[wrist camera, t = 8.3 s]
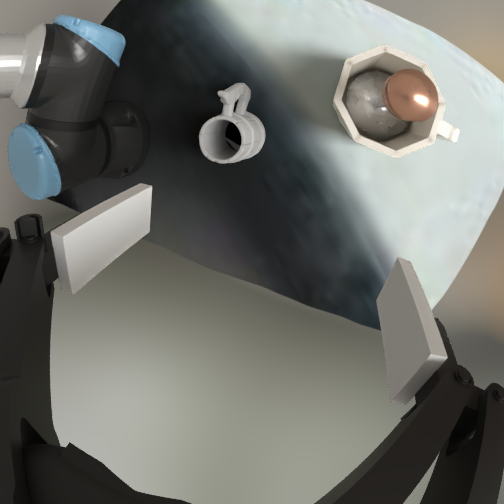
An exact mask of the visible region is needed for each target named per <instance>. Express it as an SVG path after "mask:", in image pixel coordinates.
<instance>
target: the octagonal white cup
mask: <svg viewBox="0 0 504 504" xmlns="http://www.w3.org/2000/svg"><path fill="white" fill-rule="evenodd" d="M402 69H415V70H418V71H420V72H422V73H424V74H425V75H427V76H428V77H429V78H430V79H431V81H432V82H433V83H434V85H435V87H436V89H437V93H438V107H437V109H436V111H435V113H434V114H433V115H432V116H431V117H430V118H429V119H427V120H424V121H409V122H408V124H407V125H406V127H405V128H404V129H403V130H402V131H400V132H399V133H397V134H395V135H392V136H387V137H380V136H374V135H371V134H369V133H367V132H365V131H363V130H362V129H361V128H359V127H358V126H357V125H356V124H355V123H354V121H353V120H352V118H351V117H350V115H349V112H348V109H347V104H346V97H347V92H348V89H349V87H350V85H351V84H352V82H353V81H354V80H355V79H356V78H357V77H359V76H360V75H362V74H365V73H368V72H383V73H387V74H389V75H391V76H392V75H393V74H395V73H396V72H398V71H400V70H402ZM333 107H334V109H335V111H336V114H337V117H338V119H339V121H340V123H341V124H342V126H343V127H344V128H345V130H346V131H347V133H348V135H349V136H350V137H351V138H352V139H353V140H354V141H355V142H358V143H360V144H363V145H365V146H368V147H370V148H373V149H375V150H377V151H380V152H382V153H384V154H387V155H389V156H391V157H393V158H396V159H397V158H399V157H402V156H404V155H407V154H409V153H411V152H414V151H416V150H419V149H421V148H424V147H426V146H429V145H431V144H433V143H434V141H435V138H438V139H442V140H446V141H450V142H453V143H456V141H457V138H458V135H459V131H460V130H459V129H457V128H456V127H454V126H452V125H450V124H449V123H447V122H445V121H443V120H442V117H443V113H444V110H445V107H446V103H445V101H444V98H443V96H442V94H441V92H440V90H439V88H438V85H437V83H436V81H435V79H434V77H433V75H432V73H431V71H430V69H429V68H428V66H427V64H426V63H424V62H422V61H420V60H418V59H416V58H414V57H412V56H410V55H408V54H405V53H403V52H401V51H399V50H396V49H394V48H392V47H389V46H387V45H382V46H379V47H376V48H374V49H371V50H369V51H366V52H363V53H361V54H358V55H356V56H353V57H351V58H349V59H346V60H345V63H344V67H343V70H342V73H341V77H340V80H339V83H338V86H337V88H336V92H335V96H334V100H333Z"/></svg>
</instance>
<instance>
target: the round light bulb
mask: <svg viewBox="0 0 504 504" xmlns="http://www.w3.org/2000/svg"><path fill="white" fill-rule="evenodd" d="M346 104H347V109H348V112H349V115H350V117H351V118H352V120H353V121H354V123H355V124H356V125H357V126H358V127H359V128H361V129H362V130H363V131H365V132H367V133H369V134H371V135H374V136H380V137H387V136H392V135H395V134H397V133H399V132H400V131H402V130H403V129H404V128H405V127H406V125H407V124H408V122H409V121H424V120H427V119H429V118H430V117H431V116H432V115H433V114H434V113H435V111H436V109H437V107H438V93H437V89H436V87H435V85H434V83H433V82H432V81H431V79H430V78H429V77H428V76H427V75H425V74H424V73H422V72H420V71H418V70H415V69H402V70H400V71H398V72H396V73H395V74H393V75H392V76H391V75H389V74H387V73H383V72H368V73H365V74H362V75H360V76H359V77H357V78H356V79H355V80H354V81H353V82H352V84H351V85H350V87H349V89H348V92H347V97H346Z"/></svg>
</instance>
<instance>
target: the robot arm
mask: <svg viewBox="0 0 504 504" xmlns="http://www.w3.org/2000/svg"><path fill="white" fill-rule="evenodd" d="M124 47H125V38H124V37H123V35H121V34H120V33H118V32H116V31H114V30H112V29H110V28H107V27H105V26H102V25H99V24H96V23H93V22H90V21H87V20H81V19H79V18H75V17H72V16H67V15H58V16H57V17H56V19H55V20H53V24H44V23H41V24H39V25H38V26H36V27H35V28H34V29H32V30H31V31H29V32H28V33H26V34H24V33H21V34H20V33H0V98H10V99H12V101H13V102H14V103H15V104H16V106H17V107H18V108H20V109H24V108H28V112H27V117H26V122H25V123H21V124H20V125H18V126H17V127H16V128H14V130H13V131H12V133H11V135H10V137H9V141H8V160H9V164H10V169H11V172H12V175H13V177H14V180H15V182H16V184H17V185H18V187H19V188H20V190H21V191H22V192H23V193H24V194H25V195H26V196H27V197H29V198H31V199H34V200H41V199H44V198H47V197H50V196H56V195H57V194H59V193H61V192H63V191H65V190H68V189H70V188H72V187H74V186H77V185H79V184H81V183H84V182H86V181H89V180H91V179H93V178H96V177H98V178H110V179H117V178H122V177H125V176H127V175H130V174H132V173H133V172H135V171H136V170H137V169H138V168H139V167H140V166H141V165H142V163H143V162H144V160H145V158H146V155H147V152H148V148H149V129H148V125H147V122H146V119H145V117H144V115H143V114H142V112H141V111H140V110H139V109H138V108H137V107H136V106H135V105H133V104H132V103H129V102H126V101H112V102H108V103H105V100H106V97H107V94H108V91H109V88H110V85H111V82H112V80H113V77H114V74H115V72H116V69H117V67H119V65H120V63H119V61H120V58H121V55H122V53H123V50H124ZM104 103H105V104H104ZM151 197H152V186H150V185H146V184H142V183H140V184H138V185H136V186H134V187H132V188H130V189H128V190H126V191H124V192H122V193H120V194H118V195H116V196H114V197H112V198H110V199H108V200H106V201H104V202H102V203H100V204H98V205H97V206H95V207H93V208H91V209H89V210H87V211H85V212H84V213H82V214H79V215H76V216H74V217H73V218H71V219H69V221H66V222H64V223H63V224H60V225H59V226H57V227H55V228H54V229H52V230H50V231H49V232H47V233H46V234H44V229H43V222H42V216H40V215H39V214H27V215H24V216H21V217H19V218H18V219H16V221H15V222H14V223H15V229H16V235H17V240H16V239H11V237H10V231H9V229H7V228H1V227H0V504H191V503H188V502H185V501H182V500H177V499H171V498H165V497H160V496H155V495H150V494H145V493H141V492H137V491H135V490H133V489H132V488H131V487H129V486H128V485H127V484H126V483H124V482H123V481H122V480H121V479H120V478H118V477H117V476H116V475H115V474H114V473H113V472H111V470H109V469H108V468H107V467H106V466H105V465H104V464H103V463H102V462H100V461H98V460H97V459H95V458H93V457H92V456H90V455H88V454H87V453H85V452H84V451H82V450H80V449H79V448H77V447H76V446H74V445H73V444H71V443H69V444H68V445H67V447H62V446H60V443H59V440H58V437H57V434H56V432H55V430H54V426H53V420H52V409H51V394H50V334H51V317H52V307H53V297H54V284H53V281H55V280H56V279H57V278H59V283H60V288H61V289H62V290H64V291H65V292H67V293H69V294H71V295H74V294H75V293H76V292H77V291H78V290H79V289H80V288H82V287H83V286H84V285H85V284H86V283H87V282H88V281H90V280H91V279H92V278H93V277H94V276H95V275H97V274H98V273H99V272H100V271H101V270H103V269H104V268H105V267H106V266H107V265H108V264H110V263H111V262H112V261H113V260H114V259H116V258H117V257H118V256H119V255H121V254H122V253H123V252H124V251H126V250H127V249H128V248H129V247H131V246H132V245H133V244H135V243H136V242H137V241H138V240H140V239H141V238H142V237H143V236H145V235H146V234H147V233H149V232H150V213H151ZM376 301H377V307H378V313H379V319H380V325H381V331H382V337H383V345H384V352H385V360H386V367H387V377H388V387H389V399H390V402H392V403H398V404H407V403H408V402H409V401H410V400H411V399H412V398H413V397H414V396H415V399H416V404H415V405H414V406H413V407H412V408H411V409H410V410H409V411H408V412H407V413H406V414H405V415H404V416H403V417H402V418H401V421H400V423H399V424H398V425H397V426H396V427H395V428H394V429H393V431H392V432H391V433H390V434H389V435H388V436H387V437H386V438H385V439H384V441H383V442H382V443H381V444H380V445H379V446H378V447H377V448H376V449H375V450H374V451H373V452H372V453H371V454H370V455H369V456H368V457H367V458H366V459H365V460H364V461H363V462H362V463H361V464H360V465H359V466H358V467H357V468H356V469H355V470H354V471H352V472H351V474H349V475H348V476H347V477H346V478H345V479H344V480H342V481H341V482H340V483H339V484H338V485H337V486H335V487H334V488H333V489H332V490H331V491H330V492H328V493H327V494H326V495H325V496H323V497H322V498H321V499H320V500H318V501H317V502H316V503H314V504H403V503H404V501H405V500H406V499H407V498H408V496H409V495H410V494H411V493H412V491H413V490H414V488H415V487H416V486H417V484H418V483H419V482H420V480H421V479H422V478H423V476H424V475H425V473H426V472H427V470H428V469H429V468H430V466H431V465H432V463H433V462H434V460H435V458H436V457H437V455H438V454H439V456H438V459H437V462H436V465H435V467H434V470H433V473H432V476H431V478H430V481H429V483H428V486H427V489H426V491H425V493H424V495H423V498H422V500H421V502H420V504H496V503H497V499H498V495H499V490H500V485H501V481H502V475H503V469H504V388H503V387H501V386H500V385H499V384H497V383H491V384H490V385H489V386H488V387H487V388H486V389H485V390H482V389H480V388H478V387H476V386H474V381H473V377H472V376H471V374H470V373H469V371H468V370H467V369H466V368H464V367H463V366H461V365H458V364H457V362H456V358H455V355H454V352H453V350H452V347H451V344H450V341H449V338H448V337H447V333H446V330H445V328H444V326H443V325H442V323H441V322H440V321H439V319H438V318H434V316H433V314H432V311H431V309H430V306H429V303H428V301H427V299H426V296H425V294H424V291H423V289H422V287H421V284H420V282H419V280H418V277H417V275H416V273H415V271H414V268H413V266H412V264H411V262H410V261H408V260H405V259H402V258H399V257H398V258H397V260H396V262H395V264H394V266H393V268H392V270H391V272H390V274H389V277H388V279H387V281H386V283H385V285H384V287H383V289H382V291H381V292H380V294H379V296H378V298H377V300H376ZM439 452H440V453H439Z"/></svg>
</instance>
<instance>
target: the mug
mask: <svg viewBox="0 0 504 504" xmlns="http://www.w3.org/2000/svg"><path fill="white" fill-rule="evenodd" d="M250 93H251V90H250V89H249V88H248V86H247V85H245V84H244V83H236V84H234V85H233V86H231V87H229V88H228V89H225V90H224V91H218V96H220V97H221V102H222V103H223V104H224V106H223V111H222V114H220V115H218V116H216V117H213V118H212V119H209V120H208V121H207V122H206V123H205V124H204V125H203V126H202V128H201V130H200V133H199V143H200V148H201V150H202V152H203V154H204V155H205V156H206V157H207V158H208V159H210V160H211V161H215V162H217V163H234V162H238V161H240V160H243V159H248V158H251V157H253V156H254V155H256V154H257V153H258V152H259V151H260V150H261V148H262V146H263V144H264V140H265V129H264V126H263V124H262V122H261V121H260V120H259V119H258V118H257V117H256V116H255V115H253V114H252V113H249V112H247V111H246V108H247V105H248V102H249V100H250V96H251V95H250ZM237 99H238V104H237V108H236V111H235V112H233V109H234V104H235V102H236V101H237ZM230 122H232V123H234V124H235V125H236V126H237V128H238V129H239V131H240V134H241V146H239V145H237V144H236V143H234V142H232V141H231V140H229V139H228V138H226V137H225V132H226V131H225V130H226V128H227V125H228V124H229V123H230ZM226 140H227V141H228V142H229V143H230V144H231V145H232V147H233V148H234V149H235V150H236V151H235V150H233V149H232V148H231V147H230V146H229V145H228V143H227V141H226Z"/></svg>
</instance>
